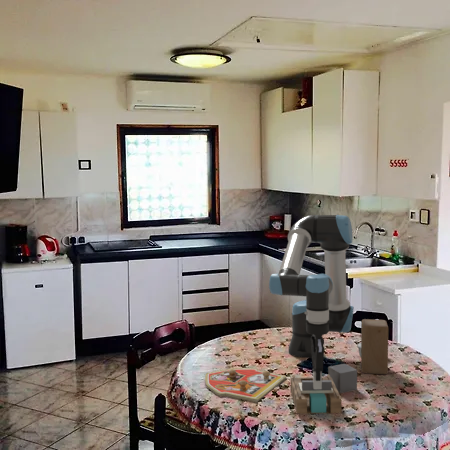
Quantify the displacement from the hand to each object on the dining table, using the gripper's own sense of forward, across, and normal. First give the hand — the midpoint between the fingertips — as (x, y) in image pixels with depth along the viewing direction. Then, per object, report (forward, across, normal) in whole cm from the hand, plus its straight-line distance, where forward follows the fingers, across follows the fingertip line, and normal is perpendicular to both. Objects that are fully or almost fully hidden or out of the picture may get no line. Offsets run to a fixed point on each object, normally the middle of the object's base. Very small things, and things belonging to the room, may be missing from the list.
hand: (317, 388), depth 188 cm
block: (+7, +1, 0) cm, 7 cm away
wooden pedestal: (+8, -5, 0) cm, 9 cm away
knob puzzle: (+9, -25, -27) cm, 37 cm away
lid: (+2, -4, 0) cm, 5 cm away
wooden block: (+8, -36, +29) cm, 47 cm away
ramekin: (+8, -52, +32) cm, 61 cm away
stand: (+8, -18, +12) cm, 23 cm away
